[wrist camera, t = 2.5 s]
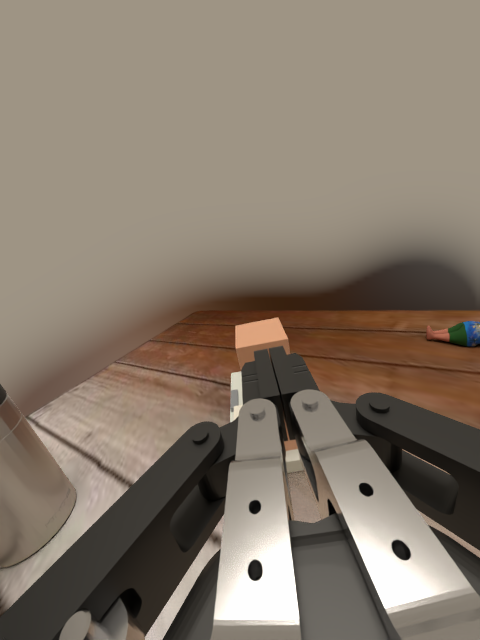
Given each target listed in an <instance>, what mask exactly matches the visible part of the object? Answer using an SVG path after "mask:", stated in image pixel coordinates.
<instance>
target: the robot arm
mask: <svg viewBox="0 0 480 640" xmlns="http://www.w3.org/2000/svg"><path fill="white" fill-rule="evenodd" d="M269 354H270V356H269ZM254 358H255V361H252V362H247V363H245V364H244V366H243V367H242V369H241V376H242V398H243V406H242V407H241V409H240V411H239V416H238V417H237V418H236V419H235V420H234V421H232V422H231V423H229V424H227V425H224V426H222V427H220V428H219V427H218V425H217V424H215V423H213V422H201V423H198V424H196V425H194V426H192V427H191V428H190V429H189V430H187V431H186V432H185V433H184V434H183V435H182V436H181V437H180V438H179V439H178V440H177V441H176V442H175V443H174V444H173V445H172V446H171V447H170V448H169V449H168V450H167V451H166V452H165V453H164V454H163V455H162V456H161V457H160V458H159V459H158V460H157V461H156V462H155V463H154V464H153V465H152V466H151V467H150V468H149V469H148V470H147V471H146V472H145V473H144V474H143V475H142V476H141V477H140V478H139V479H138V480H137V481H136V482H135V483H134V484H133V485H132V486H131V487H130V488H129V489H128V490H127V491H126V492H125V493H124V494H123V495H122V496H121V497H120V498H119V499H118V500H117V501H116V502H115V503H114V504H113V505H112V506H111V507H110V508H109V509H108V510H107V511H106V512H105V513H104V514H103V515H102V516H101V517H100V518H99V519H98V520H97V521H96V522H95V523H94V524H93V525H92V526H91V527H90V528H89V529H88V530H87V531H86V532H85V533H84V534H83V535H82V536H81V537H80V538H79V539H78V540H77V541H76V542H75V543H74V544H73V545H72V546H71V547H70V548H69V549H68V550H67V551H66V552H65V553H64V554H63V555H62V556H61V557H60V558H59V559H58V560H57V561H56V562H55V563H54V564H53V565H52V566H51V567H50V568H49V569H48V570H47V571H46V572H45V573H44V574H43V575H42V576H41V577H40V578H39V579H38V580H37V581H36V582H35V583H34V584H33V585H32V586H31V587H30V588H29V589H28V590H27V591H26V592H25V593H24V594H23V595H22V596H21V597H20V598H19V599H18V600H17V601H16V602H15V603H14V604H13V605H12V606H11V607H10V608H9V609H8V610H7V611H6V612H5V613H4V614H3V615H2V616H1V617H0V640H145V636H146V634H147V633H148V631H149V630H150V628H151V627H152V625H153V623H154V622H155V620H156V619H157V617H158V616H159V614H160V613H161V611H162V609H163V608H164V606H165V605H166V603H167V602H168V600H169V599H170V597H171V595H172V594H173V592H174V591H175V589H176V588H177V586H178V585H179V583H180V581H181V580H182V578H183V577H184V575H185V574H186V572H187V571H188V569H189V567H190V566H191V564H192V563H193V561H194V560H195V558H196V557H197V555H198V553H199V552H200V550H201V549H202V547H203V546H204V544H205V543H206V541H207V539H208V538H209V536H210V535H211V533H212V532H213V530H214V529H215V527H216V525H217V524H218V522H219V521H220V519H221V518H222V516H223V515H224V522H223V532H222V542H221V549H220V550H219V551H218V552H217V553H216V554H215V555H214V556H213V557H212V558H211V559H210V560H209V562H208V563H207V565H206V566H205V567H204V569H203V570H202V572H201V573H200V575H199V577H198V578H197V580H196V582H195V584H194V585H193V587H192V589H191V591H190V592H189V594H188V596H187V598H186V599H185V601H184V603H183V605H182V606H181V608H180V610H179V612H178V613H177V615H176V617H175V619H174V620H173V622H172V624H171V626H170V627H169V629H168V631H167V633H166V634H165V636H164V638H163V640H480V558H479V557H477V556H476V555H475V554H473V553H472V552H470V551H469V550H467V549H466V548H465V547H463V546H462V545H460V544H459V543H458V542H456V541H455V540H453V539H452V538H450V537H449V536H447V535H445V534H444V533H442V532H440V531H439V530H437V529H435V528H433V527H431V526H429V525H427V523H426V522H425V521H424V519H423V518H422V516H421V515H420V514H419V512H418V511H417V510H419V511H420V512H422V513H423V514H425V515H426V516H428V517H429V518H431V519H432V520H434V521H435V522H437V523H439V524H440V525H442V526H443V527H445V528H446V529H448V530H449V531H451V532H452V533H454V534H455V535H457V536H458V537H460V538H461V539H463V540H464V541H466V542H467V543H469V544H471V545H472V546H474V547H475V548H477V549H478V550H480V430H479V429H477V428H474V427H471V426H469V425H466V424H463V423H461V422H458V421H455V420H453V419H450V418H448V417H445V416H442V415H440V414H437V413H434V412H432V411H429V410H426V409H424V408H421V407H418V406H416V405H413V404H410V403H408V402H405V401H402V400H400V399H397V398H394V397H392V396H389V395H386V394H382V393H366V394H363V395H361V396H360V397H359V398H358V399H357V400H356V404H349V403H338V402H334V401H331V400H329V398H328V397H327V396H326V395H325V394H324V393H322V392H320V391H319V389H318V387H317V385H316V383H315V381H314V379H313V377H312V375H311V373H310V371H309V369H308V367H307V366H306V364H305V362H304V360H303V358H302V357H301V356H299V355H298V354H296V353H293V354H288V355H286V352H285V350H284V347H283V345H282V346H277V347H272V348H269V352H268V349H262V350H257V351H254ZM270 359H271V360H270ZM284 420H285V421H284ZM285 424H286V426H285ZM286 428H287V431H288V435H289V439H290V440H296V443H297V447H298V453H299V458H300V461H301V464H302V467H303V469H304V472H305V475H306V478H307V480H308V483H309V486H310V488H311V491H312V494H313V497H314V499H315V502H316V505H317V508H318V511H319V514H320V518H321V520H320V521H318V522H316V523H306V522H300V521H294V515H293V508H292V501H291V493H290V486H289V479H288V471H287V464H286V449H285V444H284V441H288V437H287V432H286ZM402 449H404V450H406V451H408V452H410V453H412V454H414V455H416V456H418V457H419V458H421V459H423V460H425V461H427V462H429V463H431V464H433V465H435V466H437V467H439V468H441V469H443V470H445V471H446V472H448V473H449V474H450V475H449V474H447V473H445V472H443V471H441V470H440V469H438V468H436V467H434V466H432V465H430V464H428V463H426V462H424V461H422V460H420V459H418V458H416V457H414V456H412V455H410V454H409V453H407V452H405V451H403V450H402ZM75 500H76V490H75V488H74V487H73V485H72V484H71V482H70V481H69V479H68V478H67V477H66V475H65V474H64V472H63V471H62V469H61V468H60V466H59V465H58V464H57V462H56V461H55V459H54V458H53V457H52V455H51V454H50V452H49V451H48V450H47V448H46V447H45V445H44V444H43V443H42V441H41V440H40V438H39V437H38V436H37V434H36V433H35V431H34V430H33V429H32V427H31V426H30V424H29V423H28V422H27V420H26V419H25V417H24V416H23V415H22V413H21V412H20V411H19V409H18V408H17V406H16V405H15V404H14V402H13V401H12V399H11V398H10V397H9V395H8V394H7V393H6V391H5V390H4V389H3V387H2V386H1V385H0V568H2V567H9V566H11V565H14V564H17V563H19V562H21V561H22V560H24V559H26V558H28V557H29V556H31V555H32V554H33V553H35V552H36V551H38V550H39V549H40V548H41V547H42V546H43V545H45V544H46V543H47V542H48V541H49V540H50V539H51V538H52V537H53V536H54V535H55V534H56V533H57V531H58V530H59V529H60V528H61V526H62V525H63V524H64V522H65V521H66V519H67V518H68V516H69V515H70V513H71V511H72V509H73V507H74V503H75Z"/></svg>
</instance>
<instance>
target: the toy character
mask: <svg viewBox="0 0 480 640" xmlns="http://www.w3.org/2000/svg"><path fill="white" fill-rule="evenodd" d="M426 336H427V339H429V340H431V339H438V340H442V341H446V342H451V343H455V344H459V345H463V346H469V347H473V346H476V345H478V344H480V322H475V321H467V322H462V323H459V324H457V325H455V326H453V327H451V328H448V329H444V330H439V331H433V330H432V329H431V328H430V326H427V333H426Z"/></svg>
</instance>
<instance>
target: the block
mask: <svg viewBox="0 0 480 640" xmlns="http://www.w3.org/2000/svg"><path fill="white" fill-rule="evenodd" d="M282 345H283V347H284V350H285V352H286V355H288V354H290V350H289V343H288V338H287V336H286V334H285V331H284V329H283V327H282V325H281V323H280V321H279V319H278V318H273V319H268V320H263V321H258V322H253V323H248V324H243V325H238V326H236V352H237V356H238V360H239V364H240V368H241V369H242V367H243V366H244V364H245V363H247V362H252V361H255V358H254V351H257V350H262V349H268V352H269V348H272V347H277V346H282ZM269 356H270V354H269ZM270 360H271V359H270ZM284 421H285V420H284ZM285 426H286V424H285ZM286 432H287V437H288V441H284V444H285V449H286V451H289V450H295V449H298V447H297V443H296V440H290V439H289V435H288V431H287V428H286Z"/></svg>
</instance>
